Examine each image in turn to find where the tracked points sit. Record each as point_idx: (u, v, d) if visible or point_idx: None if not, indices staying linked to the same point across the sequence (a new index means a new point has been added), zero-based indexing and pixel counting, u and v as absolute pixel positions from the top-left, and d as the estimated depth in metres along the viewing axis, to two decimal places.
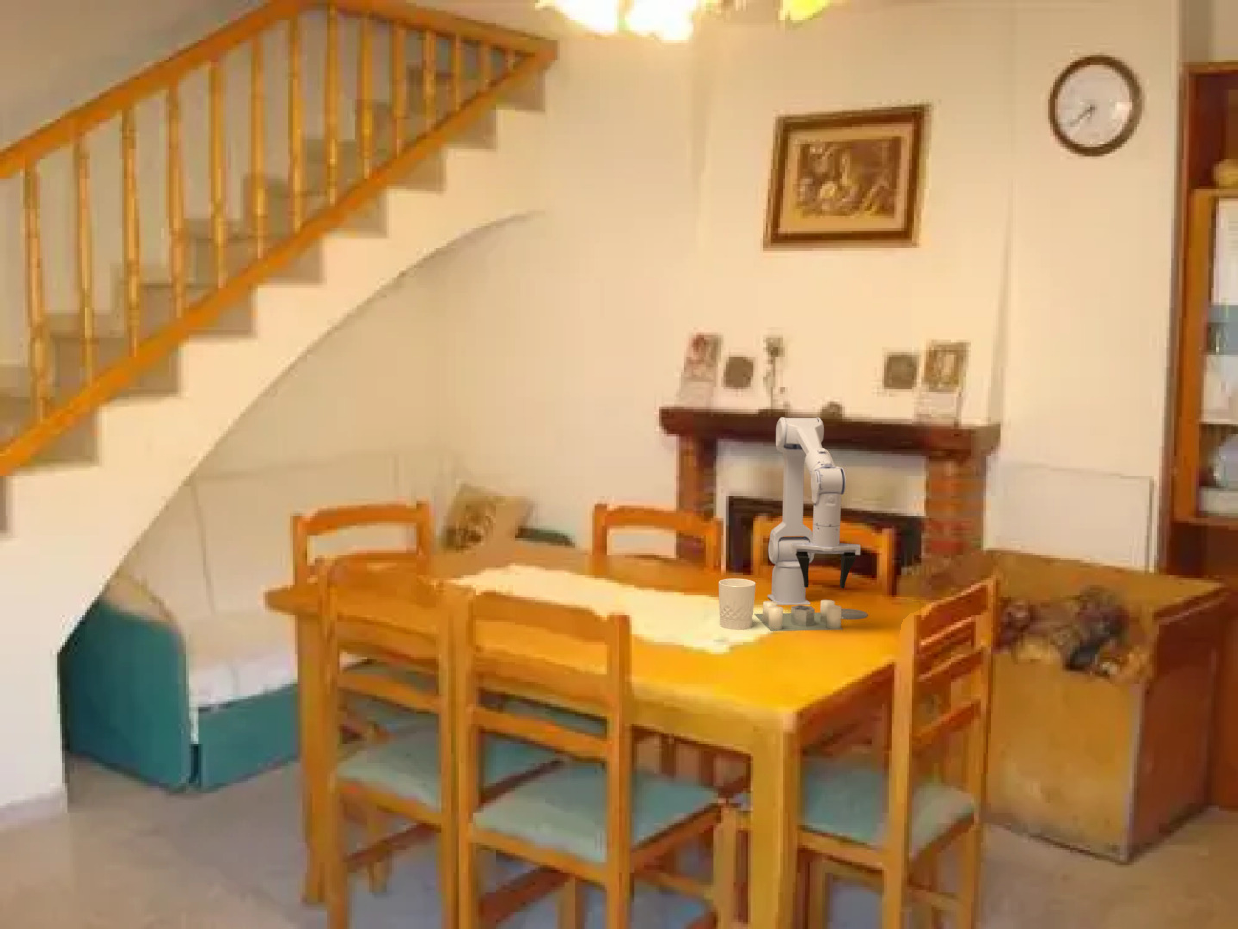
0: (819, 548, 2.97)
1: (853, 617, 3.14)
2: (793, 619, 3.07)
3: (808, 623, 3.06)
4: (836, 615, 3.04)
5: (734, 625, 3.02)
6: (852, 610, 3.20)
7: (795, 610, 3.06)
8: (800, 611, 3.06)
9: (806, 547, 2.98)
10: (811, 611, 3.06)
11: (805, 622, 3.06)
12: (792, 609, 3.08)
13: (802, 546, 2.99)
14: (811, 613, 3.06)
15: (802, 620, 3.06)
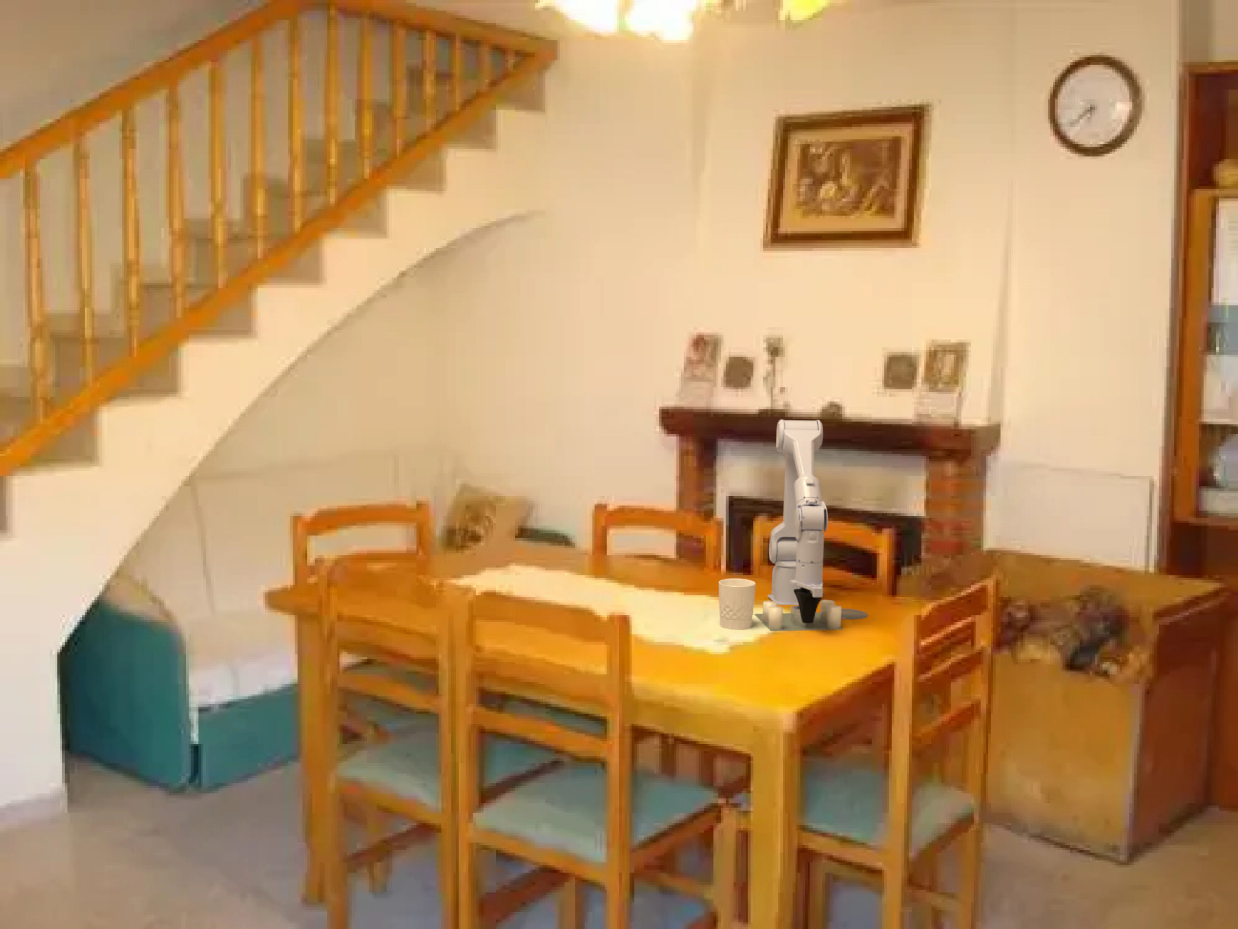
0: (794, 580, 3.04)
1: (853, 617, 3.14)
2: (793, 619, 3.07)
3: None
4: (836, 615, 3.04)
5: (734, 625, 3.02)
6: (852, 610, 3.20)
7: (795, 610, 3.06)
8: None
9: None
10: None
11: None
12: (792, 609, 3.08)
13: None
14: None
15: None
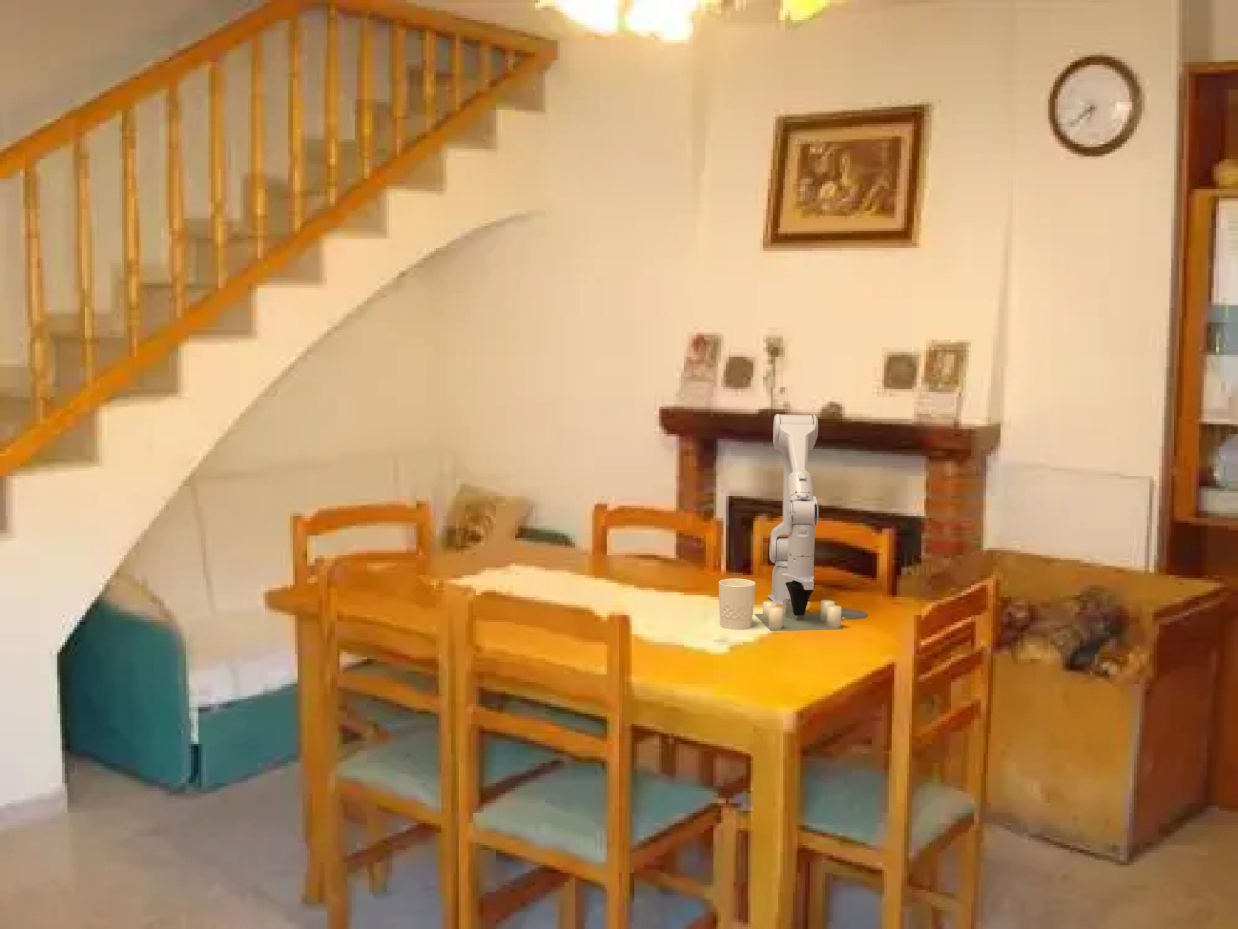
0: None
1: (853, 617, 3.14)
2: (785, 611, 3.14)
3: None
4: (836, 615, 3.04)
5: (734, 625, 3.02)
6: (852, 610, 3.20)
7: (787, 603, 3.13)
8: (791, 604, 3.12)
9: None
10: None
11: None
12: (784, 602, 3.15)
13: None
14: None
15: None
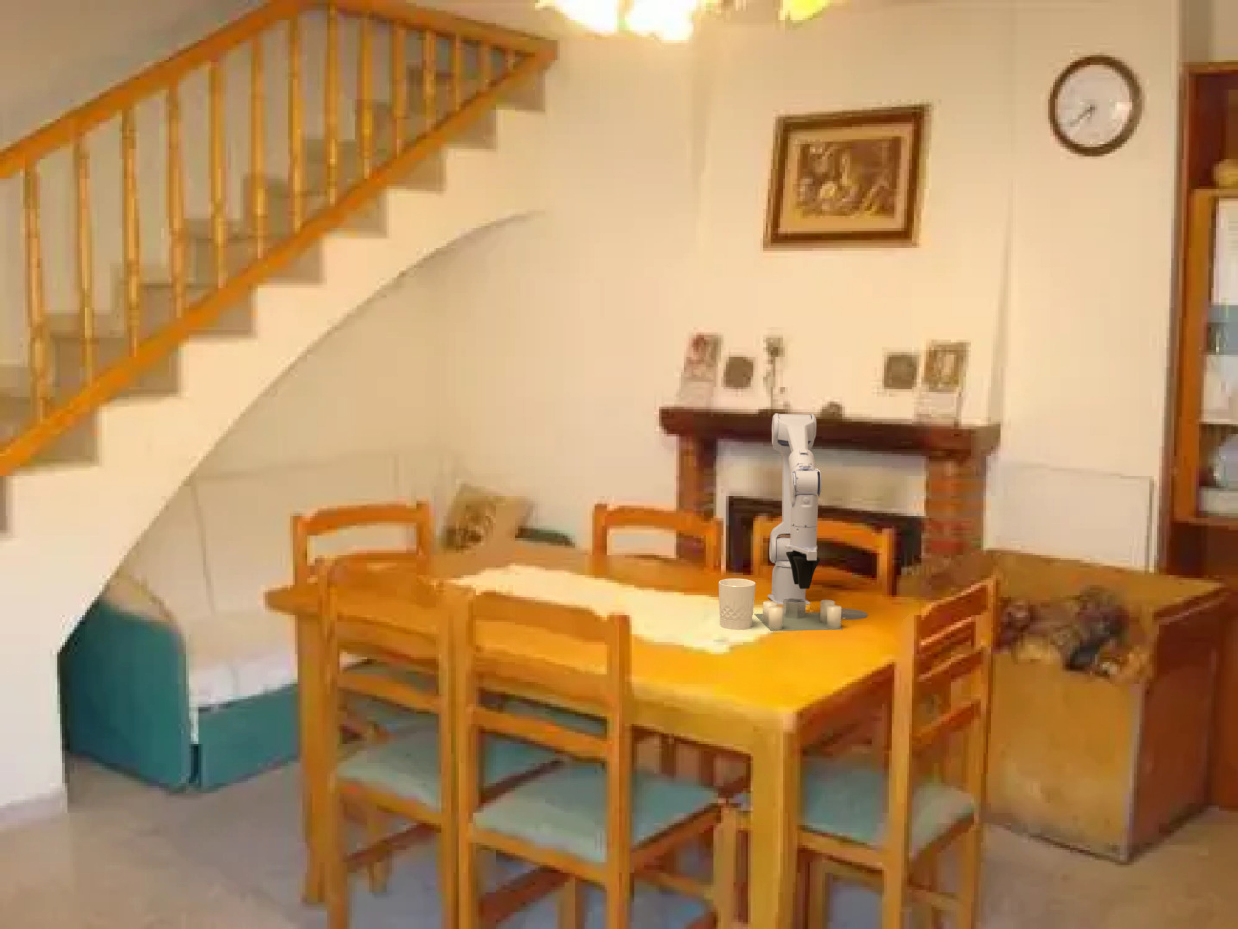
0: None
1: (853, 617, 3.14)
2: (785, 611, 3.14)
3: (799, 615, 3.13)
4: (836, 615, 3.04)
5: (734, 625, 3.02)
6: (852, 610, 3.20)
7: (787, 603, 3.13)
8: (791, 604, 3.12)
9: None
10: (802, 604, 3.13)
11: (796, 614, 3.12)
12: (784, 602, 3.15)
13: None
14: (802, 605, 3.13)
15: (793, 612, 3.12)
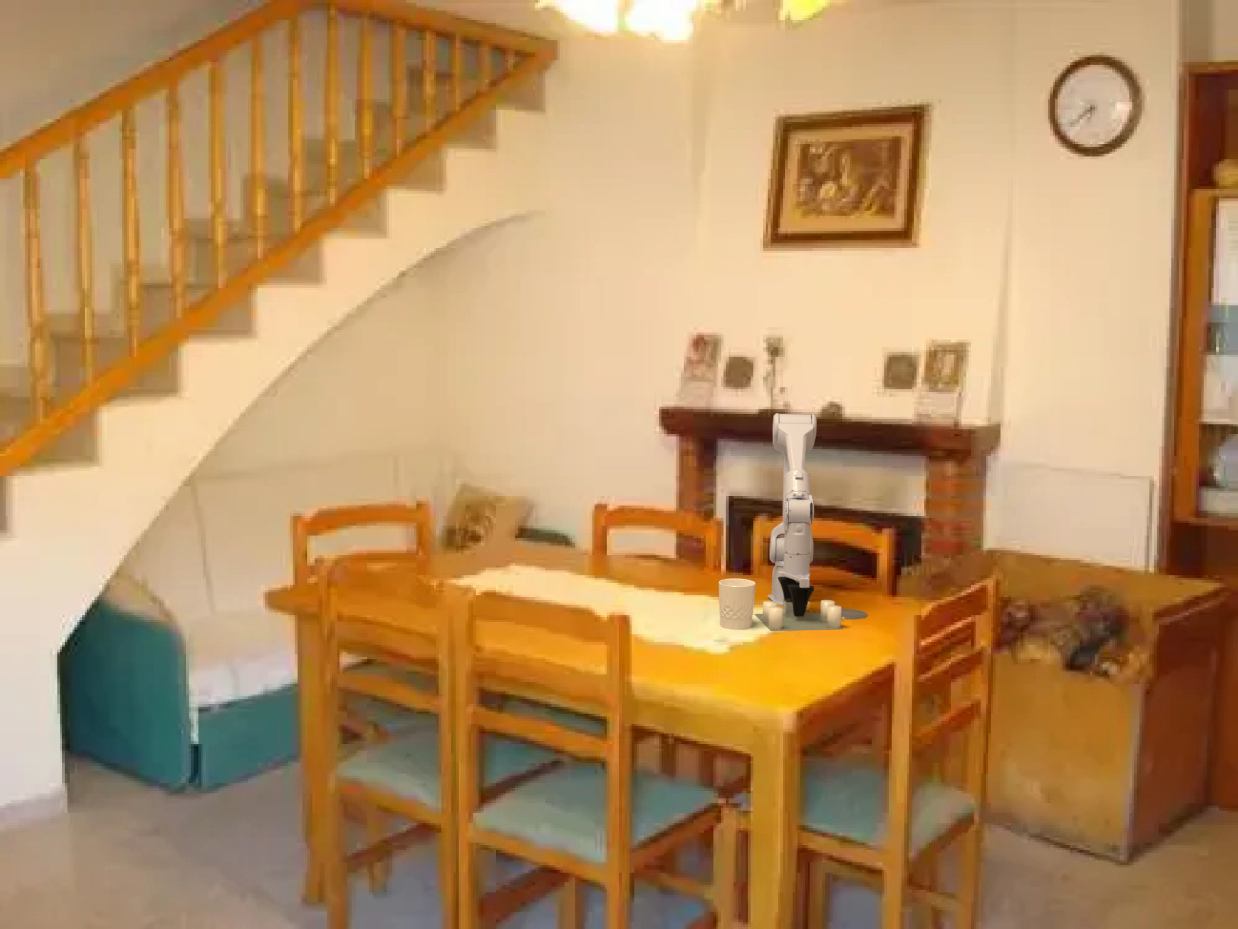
0: None
1: (853, 617, 3.14)
2: (785, 611, 3.14)
3: None
4: (836, 615, 3.04)
5: (734, 624, 3.02)
6: (852, 610, 3.20)
7: (787, 603, 3.13)
8: (791, 604, 3.12)
9: None
10: None
11: None
12: (784, 602, 3.15)
13: None
14: None
15: None
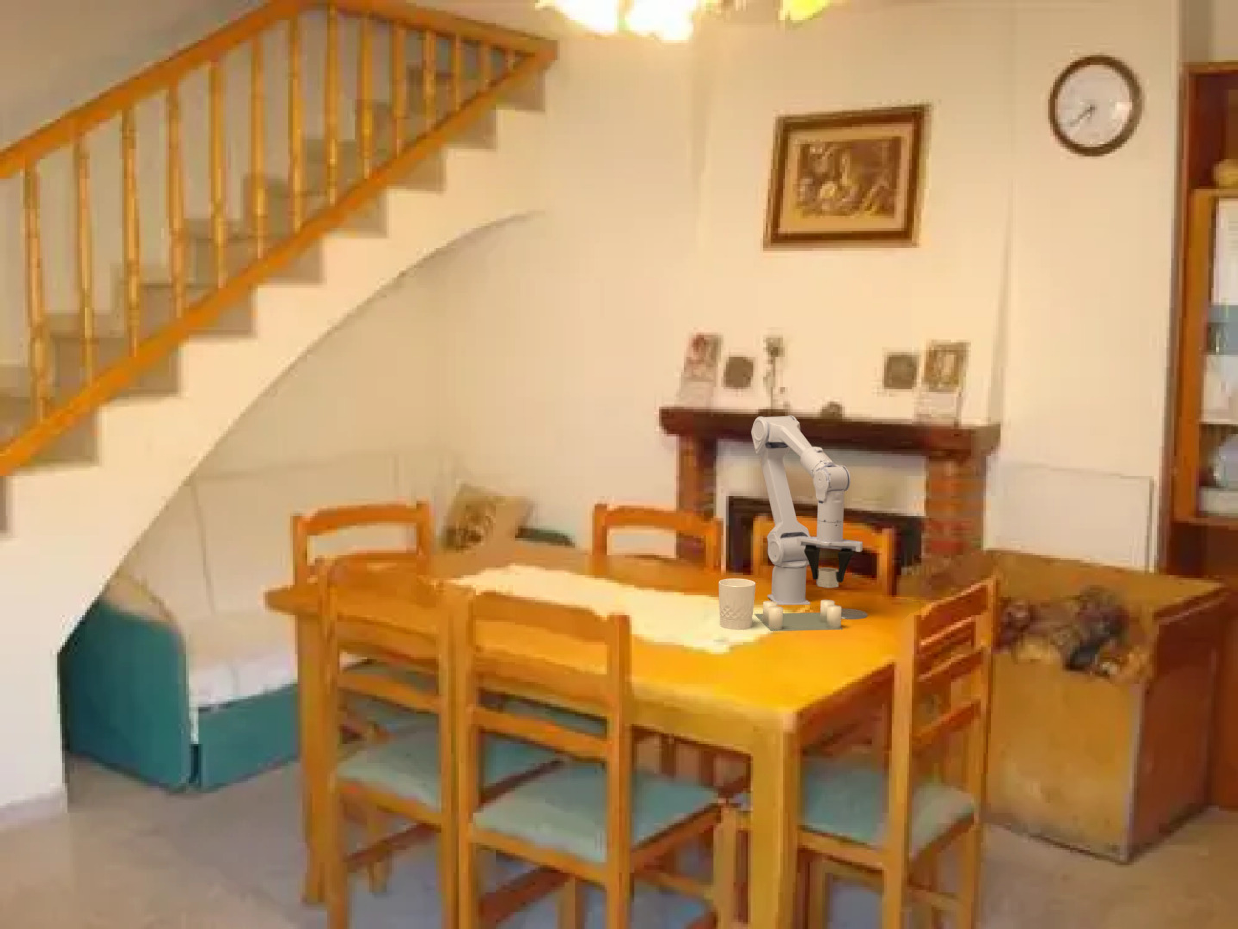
0: (819, 542, 3.12)
1: (853, 617, 3.14)
2: (826, 582, 3.12)
3: None
4: (836, 615, 3.04)
5: (734, 625, 3.02)
6: (852, 610, 3.20)
7: (830, 573, 3.12)
8: (834, 573, 3.12)
9: (808, 540, 3.14)
10: (837, 571, 3.15)
11: (838, 582, 3.13)
12: (822, 573, 3.13)
13: (805, 539, 3.15)
14: None
15: (835, 581, 3.13)
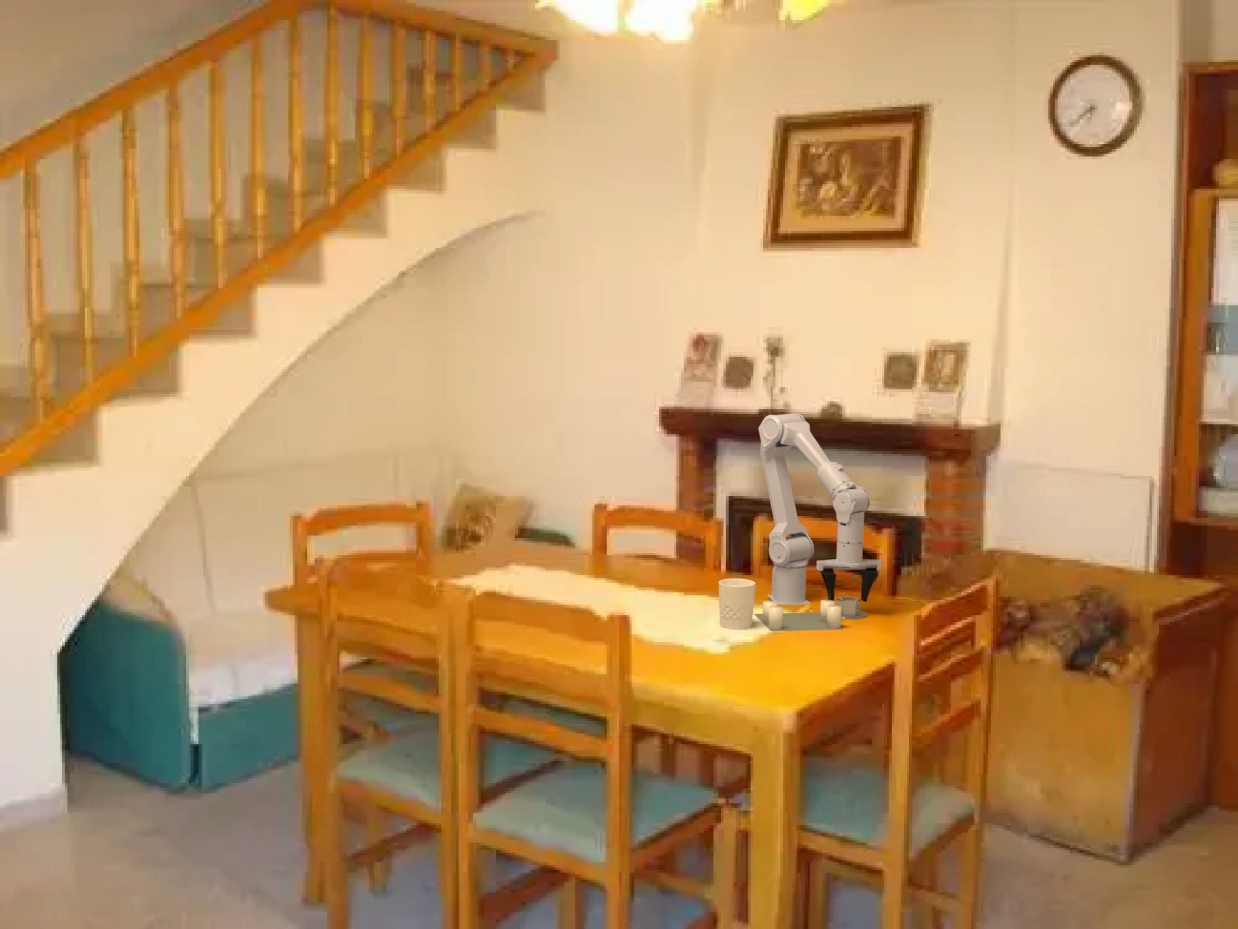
0: (845, 565, 3.13)
1: (853, 617, 3.14)
2: (852, 611, 3.15)
3: None
4: (836, 615, 3.04)
5: (734, 624, 3.02)
6: None
7: (855, 601, 3.14)
8: (857, 601, 3.15)
9: (832, 564, 3.14)
10: None
11: (859, 610, 3.17)
12: (848, 602, 3.14)
13: (829, 563, 3.14)
14: None
15: (858, 609, 3.16)
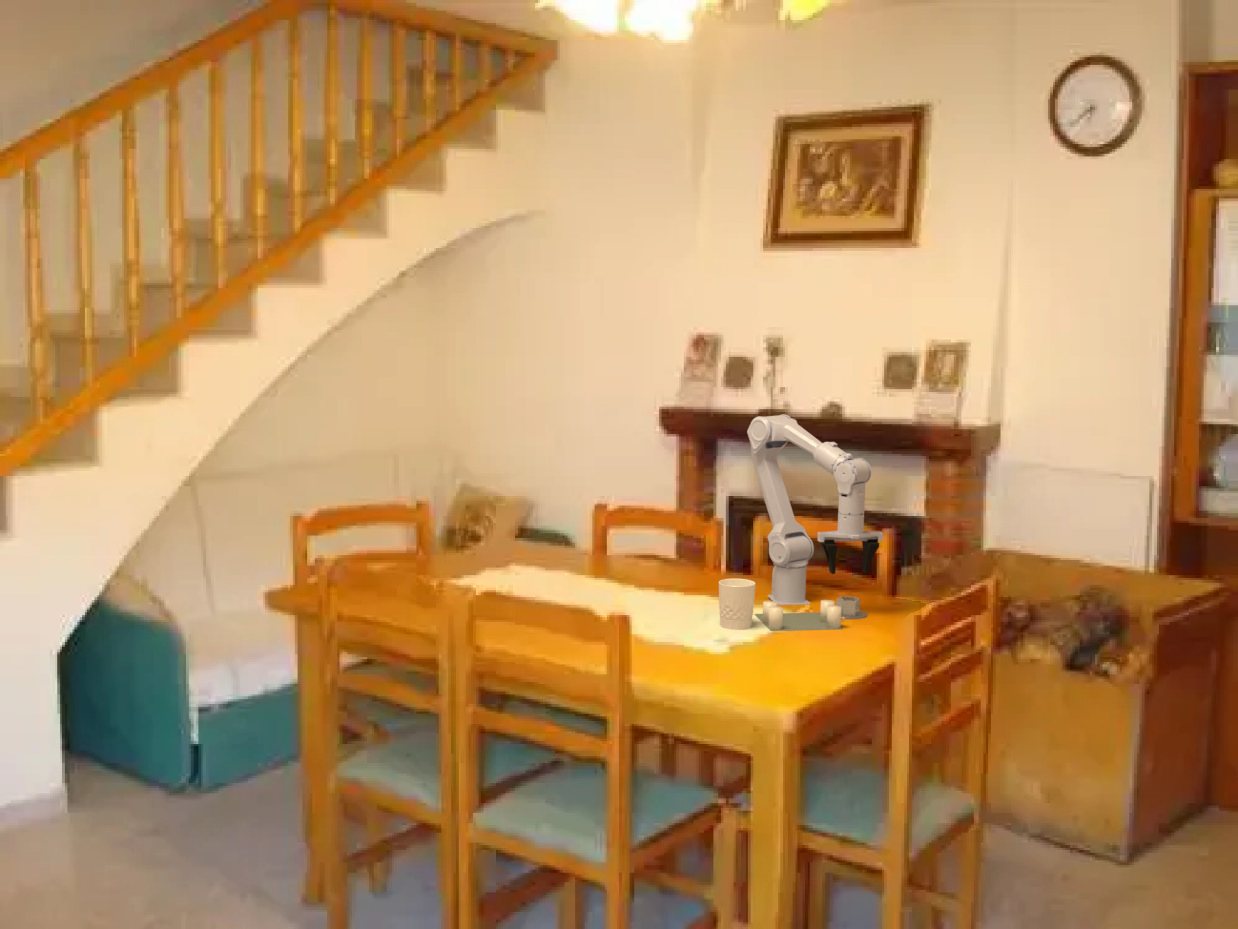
0: (846, 536, 3.12)
1: (853, 617, 3.14)
2: (852, 611, 3.15)
3: None
4: (836, 615, 3.04)
5: (734, 624, 3.02)
6: None
7: (855, 601, 3.14)
8: (857, 601, 3.15)
9: (834, 535, 3.13)
10: None
11: (859, 610, 3.17)
12: (848, 602, 3.14)
13: (830, 534, 3.13)
14: None
15: (858, 609, 3.16)
